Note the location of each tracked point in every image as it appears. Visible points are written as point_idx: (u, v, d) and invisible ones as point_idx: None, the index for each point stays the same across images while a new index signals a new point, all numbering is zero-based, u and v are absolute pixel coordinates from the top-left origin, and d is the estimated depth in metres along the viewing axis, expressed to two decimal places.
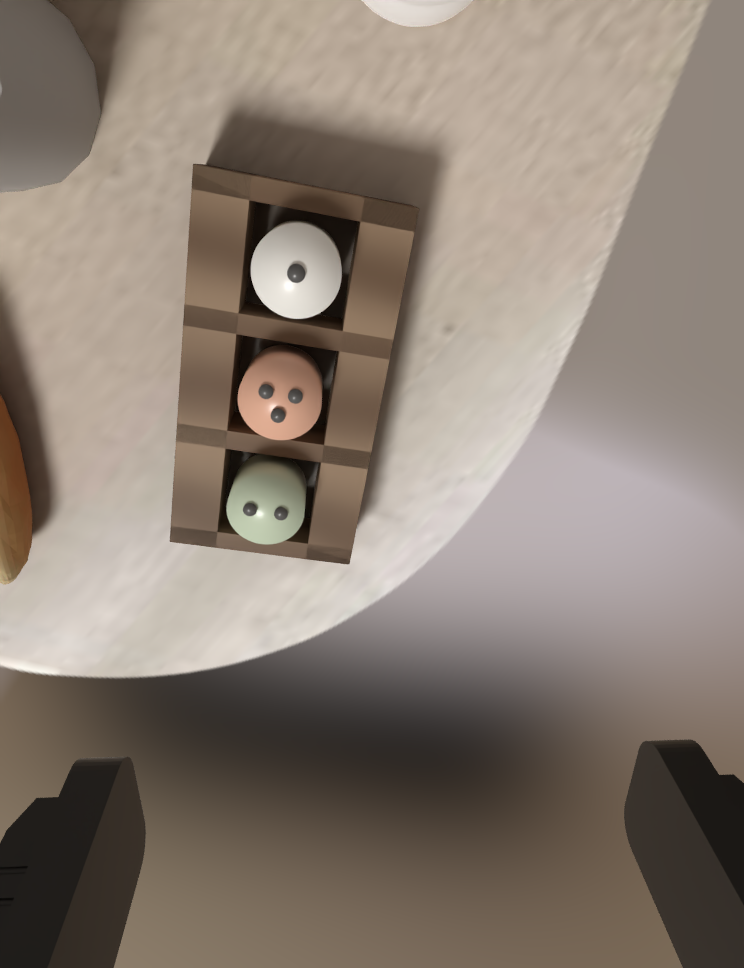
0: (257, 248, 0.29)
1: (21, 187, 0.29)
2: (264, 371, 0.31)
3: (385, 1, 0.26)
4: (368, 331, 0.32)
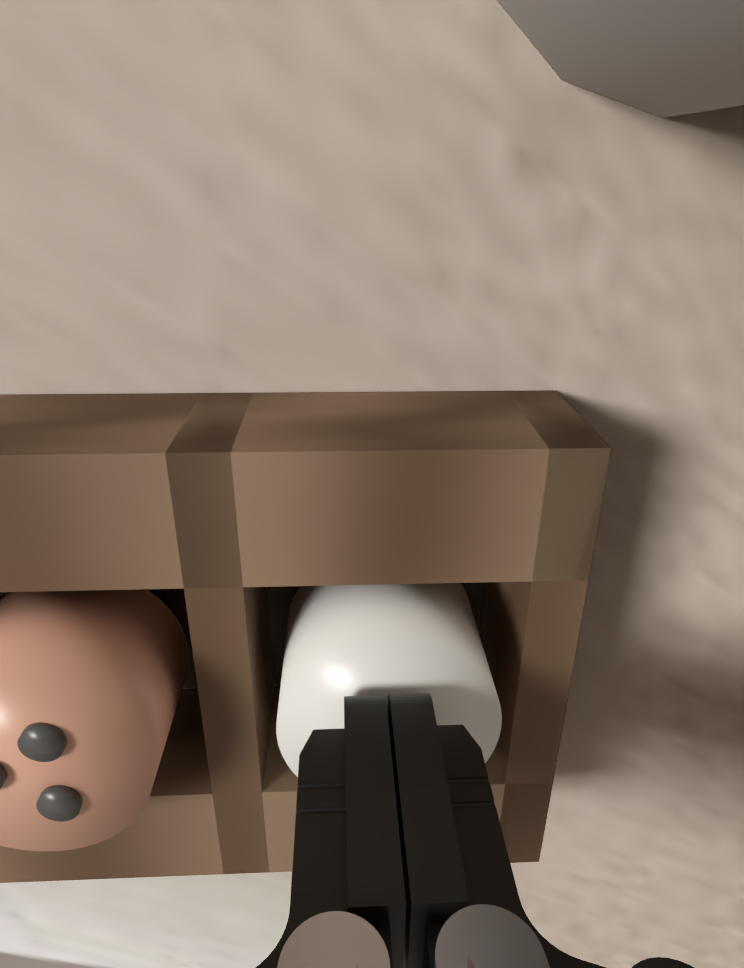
0: (435, 648, 0.11)
1: None
2: (102, 728, 0.11)
3: None
4: (274, 833, 0.14)
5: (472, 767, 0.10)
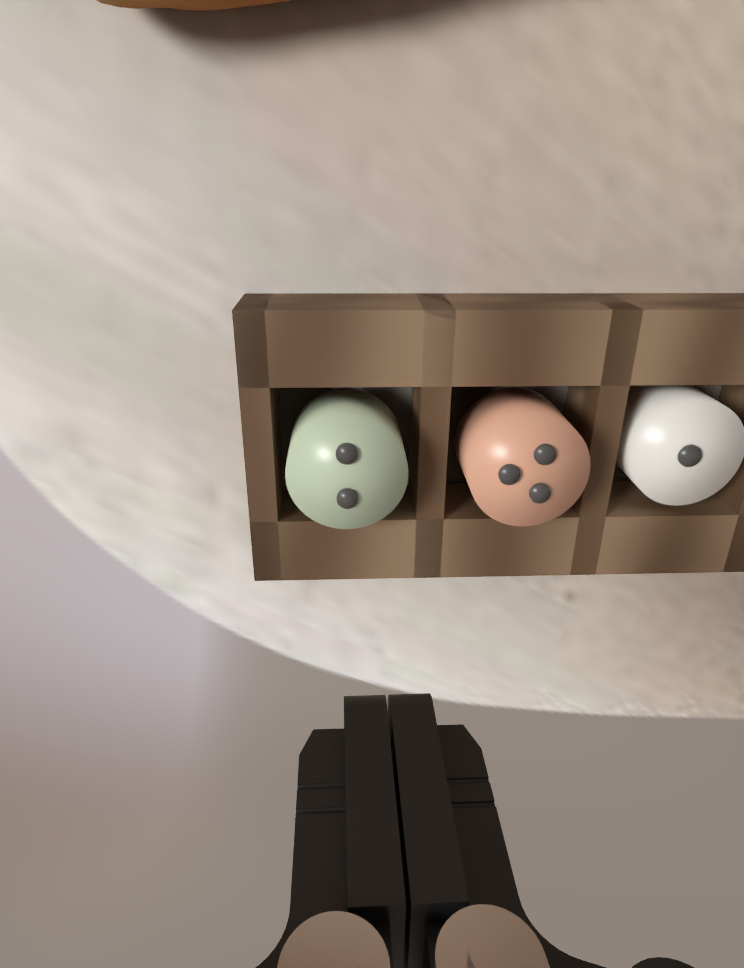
0: (721, 406, 0.22)
1: None
2: (573, 448, 0.21)
3: None
4: (605, 545, 0.25)
5: (472, 767, 0.10)
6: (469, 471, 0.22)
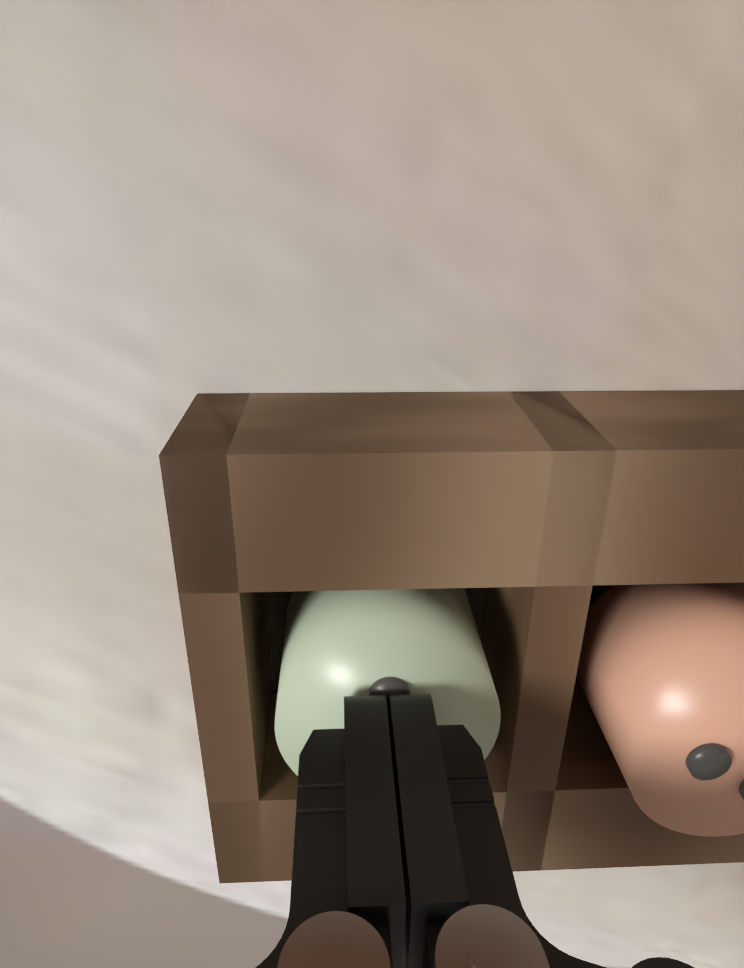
0: None
1: None
2: None
3: None
4: None
5: (472, 767, 0.10)
6: (629, 754, 0.11)
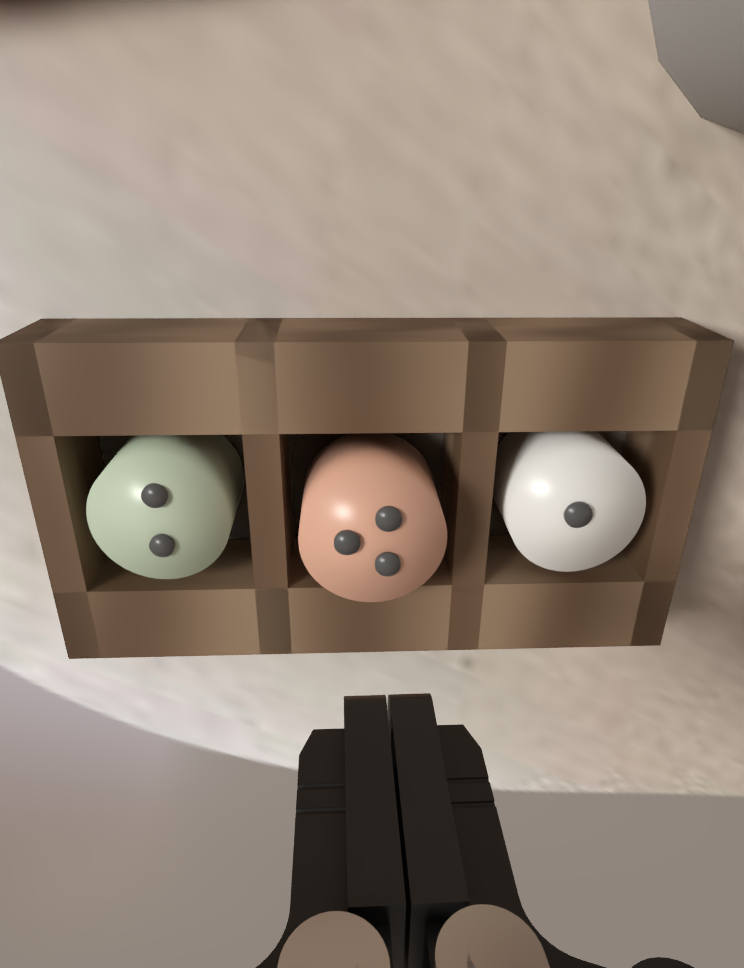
0: (612, 456, 0.18)
1: None
2: (424, 510, 0.17)
3: None
4: (487, 617, 0.21)
5: (472, 767, 0.10)
6: (298, 538, 0.18)
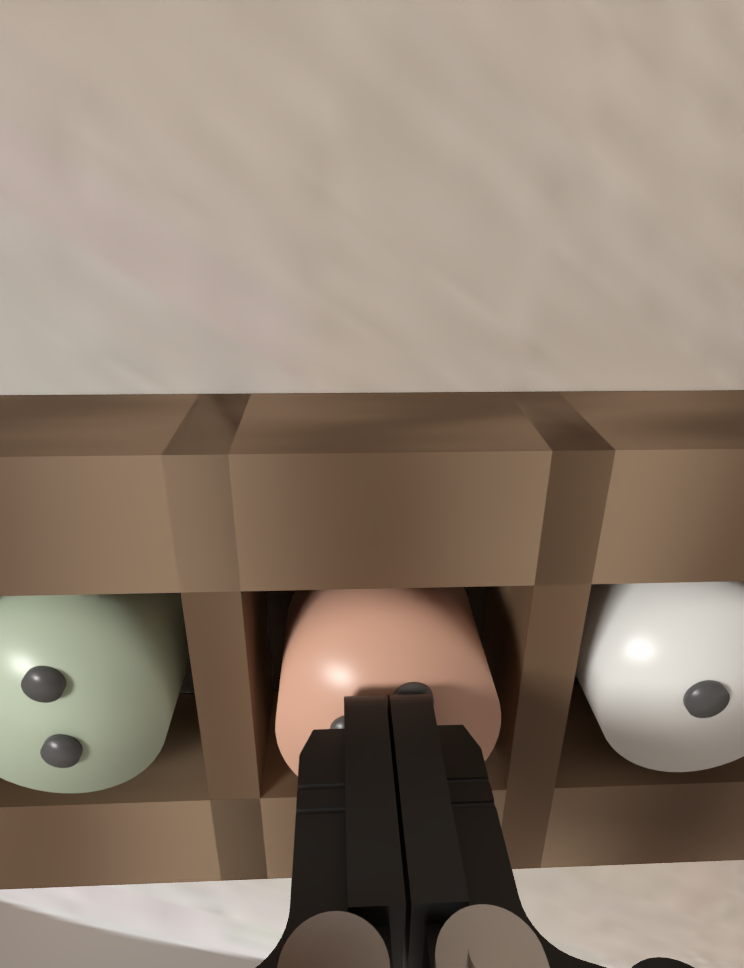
0: None
1: None
2: (467, 688, 0.11)
3: None
4: (556, 828, 0.14)
5: (472, 767, 0.10)
6: None
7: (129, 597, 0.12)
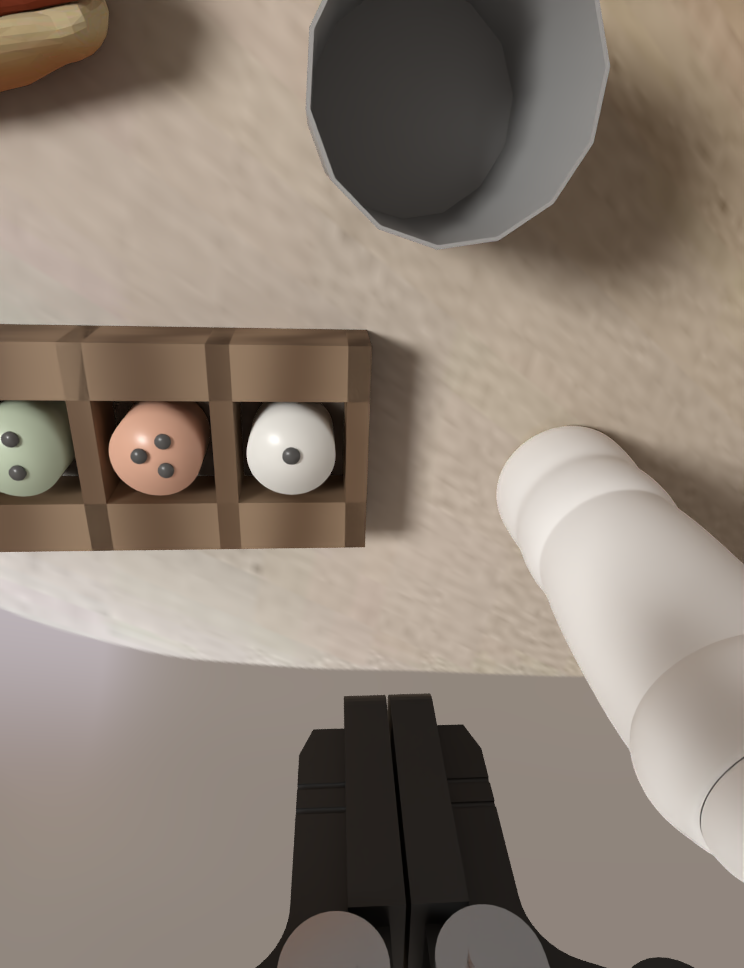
0: (307, 418, 0.29)
1: None
2: (184, 437, 0.29)
3: (516, 494, 0.32)
4: (244, 526, 0.31)
5: (472, 767, 0.10)
6: (110, 453, 0.29)
7: (47, 410, 0.29)
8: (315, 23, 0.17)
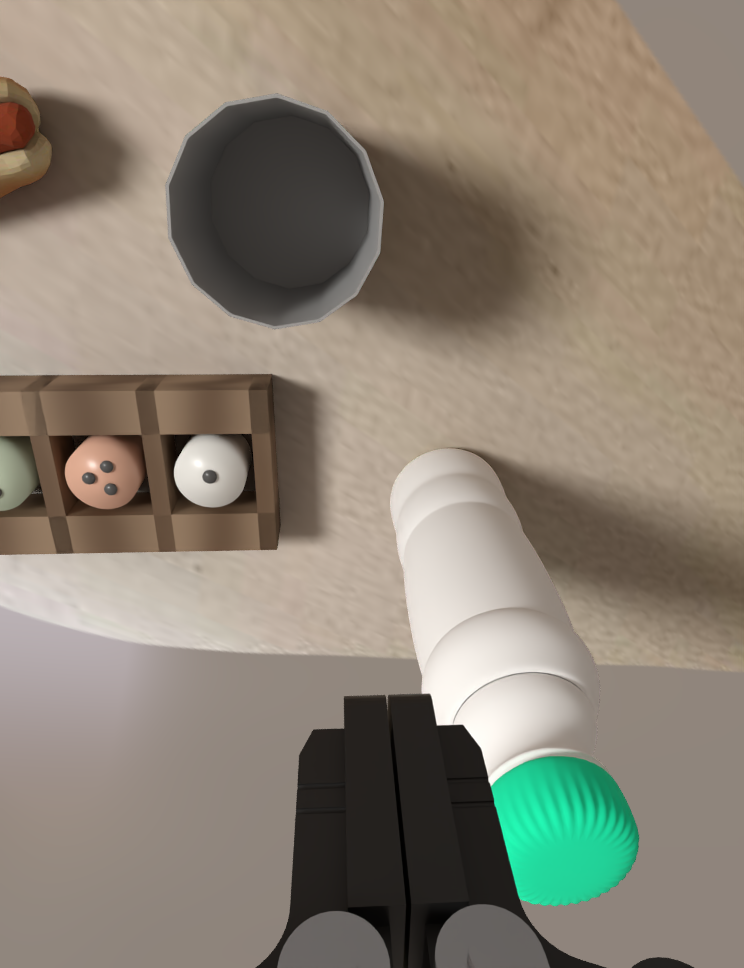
0: (220, 446, 0.37)
1: None
2: (123, 463, 0.37)
3: (397, 505, 0.39)
4: (176, 533, 0.39)
5: (472, 767, 0.10)
6: (66, 476, 0.37)
7: (17, 443, 0.37)
8: (169, 182, 0.25)
